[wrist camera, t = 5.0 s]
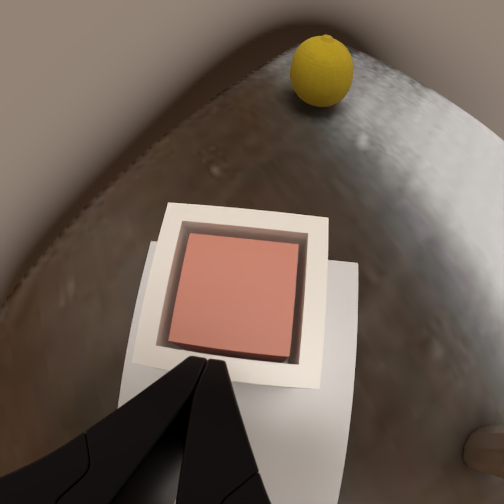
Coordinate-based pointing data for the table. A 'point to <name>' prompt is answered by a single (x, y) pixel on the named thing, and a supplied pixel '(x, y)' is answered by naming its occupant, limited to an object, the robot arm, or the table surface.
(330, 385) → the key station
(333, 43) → the lemon
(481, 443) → the takeaway coffee cup
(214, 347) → the salmon pink square block
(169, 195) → the table surface
